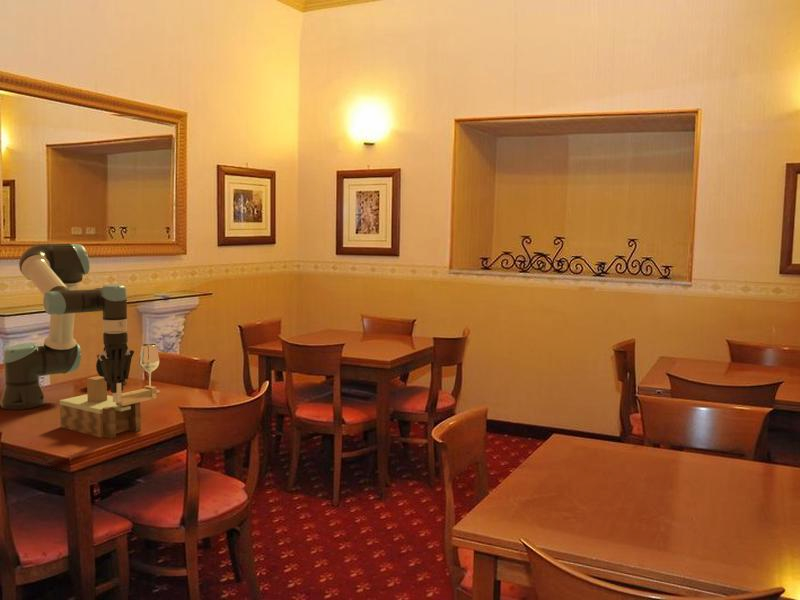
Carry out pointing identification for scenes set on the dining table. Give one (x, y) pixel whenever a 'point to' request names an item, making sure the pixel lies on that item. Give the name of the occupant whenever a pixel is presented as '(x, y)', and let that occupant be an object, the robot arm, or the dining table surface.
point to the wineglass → (149, 359)
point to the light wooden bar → (138, 396)
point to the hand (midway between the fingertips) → (117, 401)
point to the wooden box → (101, 420)
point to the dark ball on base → (100, 372)
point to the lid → (94, 398)
